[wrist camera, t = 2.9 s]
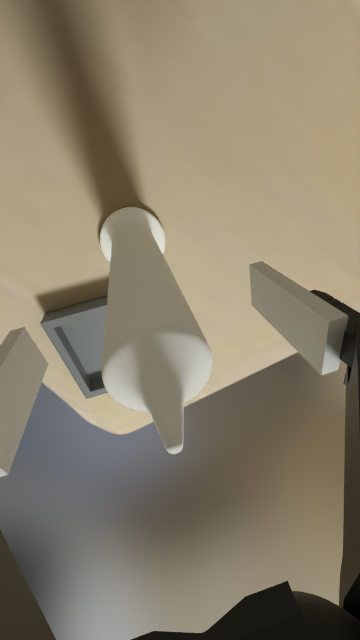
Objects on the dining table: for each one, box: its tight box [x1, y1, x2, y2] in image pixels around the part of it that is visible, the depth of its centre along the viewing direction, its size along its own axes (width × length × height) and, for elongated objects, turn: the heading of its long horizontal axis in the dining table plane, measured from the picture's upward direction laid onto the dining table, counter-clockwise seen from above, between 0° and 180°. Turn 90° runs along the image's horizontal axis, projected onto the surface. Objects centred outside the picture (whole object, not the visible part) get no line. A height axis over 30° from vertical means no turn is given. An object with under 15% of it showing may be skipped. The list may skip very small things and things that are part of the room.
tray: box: [40, 296, 108, 399], centre depth 33 cm, size 13×13×2 cm
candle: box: [100, 207, 213, 454], centre depth 18 cm, size 7×7×25 cm
